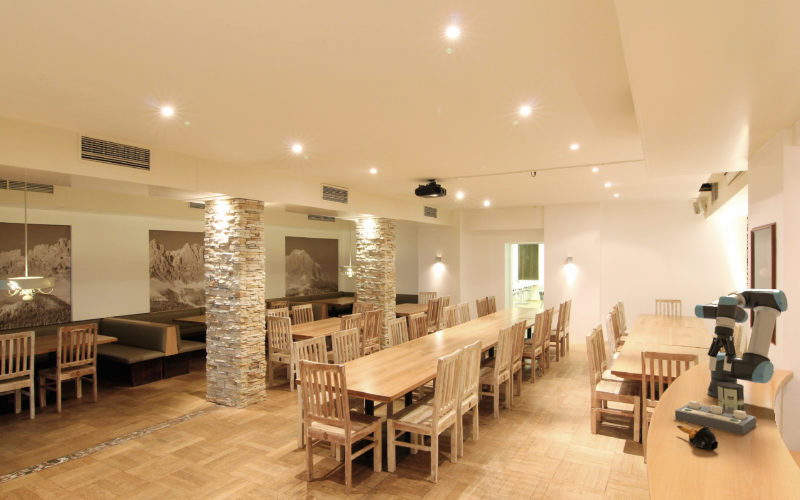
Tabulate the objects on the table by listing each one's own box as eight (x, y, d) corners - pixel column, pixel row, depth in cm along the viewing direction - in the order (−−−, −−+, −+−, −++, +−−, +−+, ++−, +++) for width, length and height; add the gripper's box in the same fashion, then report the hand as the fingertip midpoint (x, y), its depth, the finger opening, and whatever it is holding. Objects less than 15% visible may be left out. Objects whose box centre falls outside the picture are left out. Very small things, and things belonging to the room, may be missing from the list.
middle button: (712, 415, 209) (712, 404, 209) (723, 417, 205) (723, 406, 206) (709, 417, 206) (708, 406, 206) (720, 420, 203) (720, 408, 203)
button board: (690, 410, 220) (690, 401, 220) (755, 425, 199) (755, 415, 200) (675, 419, 209) (675, 409, 209) (742, 435, 188) (742, 424, 189)
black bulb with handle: (706, 443, 170) (665, 414, 186) (706, 463, 174) (667, 433, 190) (724, 432, 172) (682, 404, 188) (724, 452, 176) (684, 423, 192)
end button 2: (735, 420, 202) (735, 409, 202) (747, 423, 198) (747, 411, 198) (732, 422, 199) (732, 411, 199) (744, 425, 196) (744, 414, 196)
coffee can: (737, 410, 219) (736, 382, 219) (749, 418, 209) (748, 387, 209) (714, 409, 221) (713, 381, 222) (724, 416, 211) (723, 386, 211)
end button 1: (691, 410, 216) (690, 400, 216) (701, 412, 213) (701, 402, 213) (687, 412, 213) (687, 402, 214) (697, 414, 210) (697, 404, 210)
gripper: (703, 327, 231) (697, 368, 227) (730, 323, 208) (724, 368, 203) (719, 331, 230) (713, 372, 226) (748, 327, 206) (743, 373, 202)
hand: (719, 370), depth 214 cm, fingers open, 13 cm apart
